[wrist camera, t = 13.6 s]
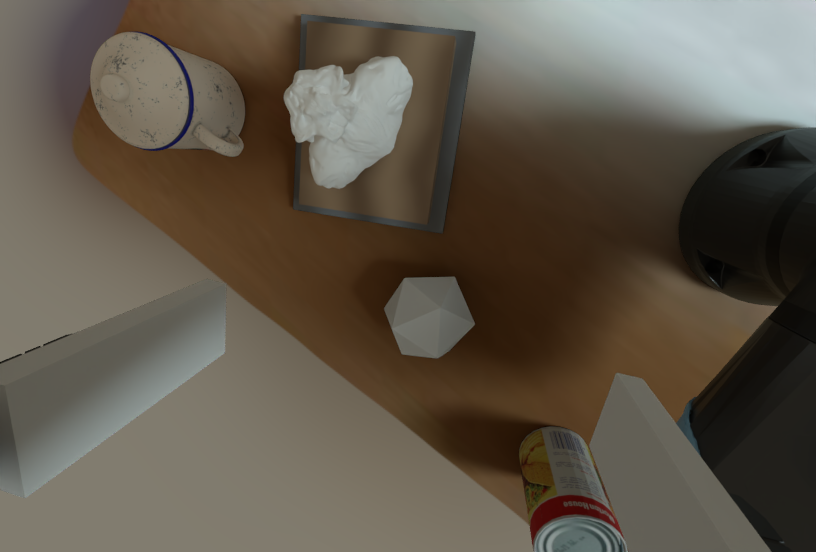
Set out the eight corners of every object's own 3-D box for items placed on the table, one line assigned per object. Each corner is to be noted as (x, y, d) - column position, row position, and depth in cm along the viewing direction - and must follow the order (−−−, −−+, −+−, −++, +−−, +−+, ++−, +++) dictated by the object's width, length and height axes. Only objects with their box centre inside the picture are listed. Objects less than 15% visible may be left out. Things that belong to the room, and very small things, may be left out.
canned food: (515, 476, 47) (528, 576, 36) (523, 421, 45) (539, 510, 34) (583, 486, 46) (618, 593, 35) (594, 431, 44) (636, 525, 32)
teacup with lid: (155, 114, 42) (40, 98, 31) (193, 37, 39) (81, -12, 28) (243, 187, 42) (162, 197, 31) (287, 117, 39) (215, 101, 28)
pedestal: (475, 35, 35) (475, 24, 32) (443, 231, 40) (440, 237, 37) (305, 17, 36) (291, 5, 34) (297, 208, 42) (284, 211, 39)
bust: (406, 70, 36) (306, -22, 27) (454, 105, 32) (356, 10, 23) (336, 177, 39) (229, 127, 31) (371, 220, 35) (259, 177, 27)
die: (378, 305, 44) (388, 383, 38) (386, 252, 38) (399, 335, 32) (447, 302, 46) (467, 376, 40) (464, 251, 40) (492, 330, 34)
